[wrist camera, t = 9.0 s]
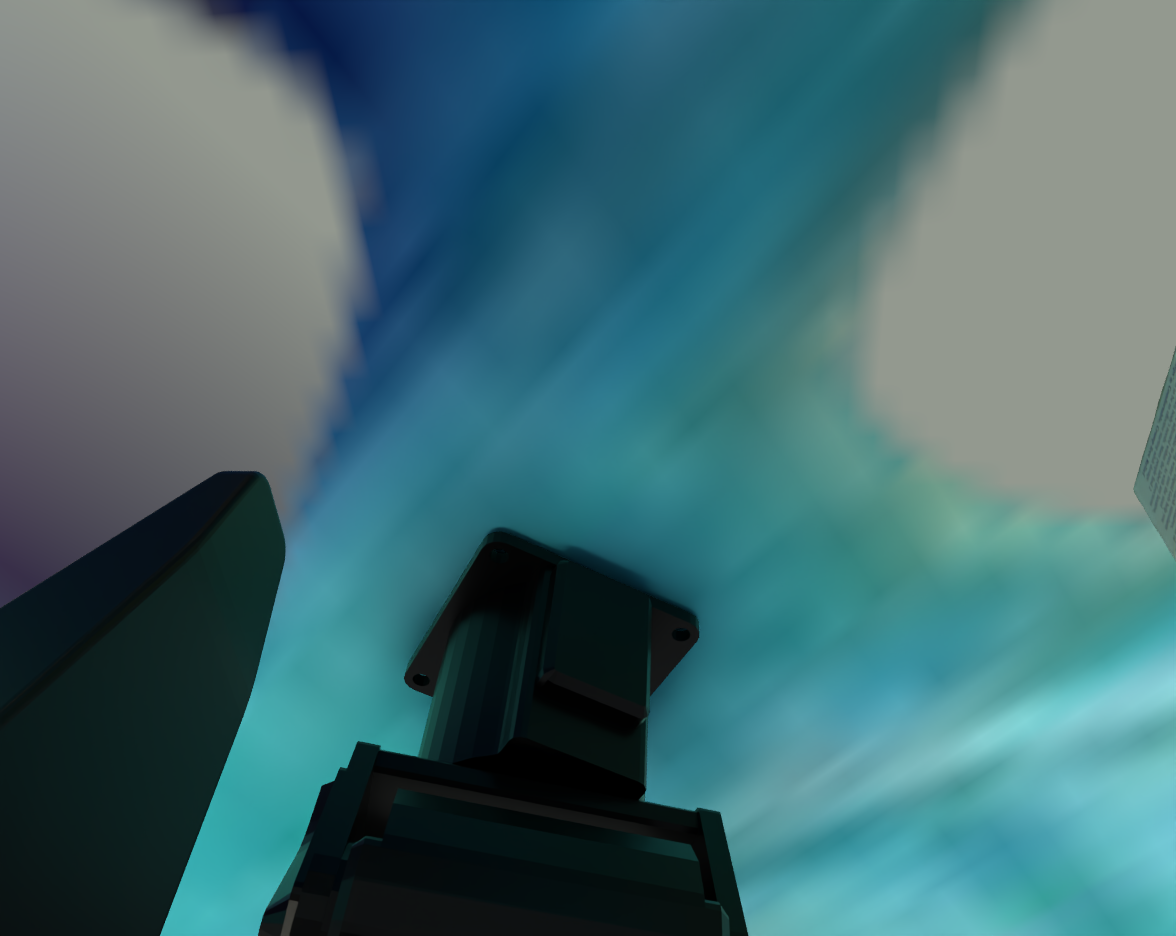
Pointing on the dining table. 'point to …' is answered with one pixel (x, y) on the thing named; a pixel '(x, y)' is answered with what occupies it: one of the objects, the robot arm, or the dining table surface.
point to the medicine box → (1161, 465)
